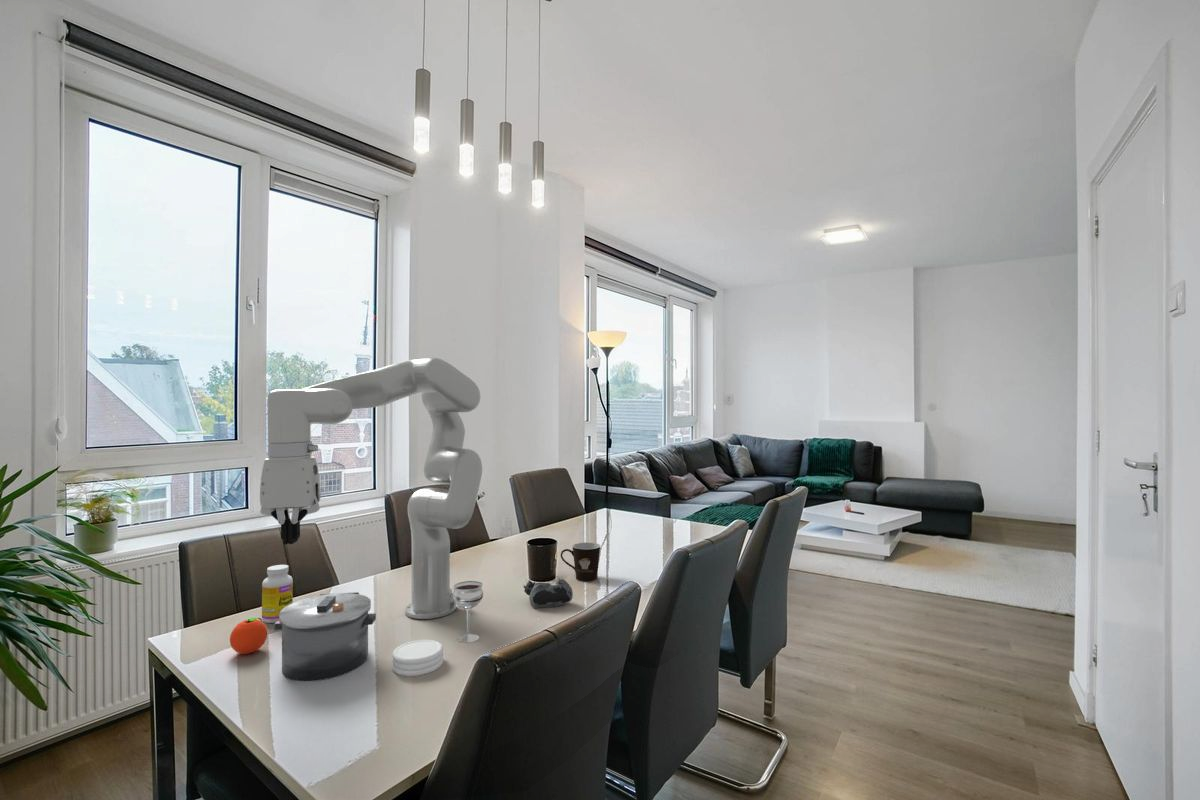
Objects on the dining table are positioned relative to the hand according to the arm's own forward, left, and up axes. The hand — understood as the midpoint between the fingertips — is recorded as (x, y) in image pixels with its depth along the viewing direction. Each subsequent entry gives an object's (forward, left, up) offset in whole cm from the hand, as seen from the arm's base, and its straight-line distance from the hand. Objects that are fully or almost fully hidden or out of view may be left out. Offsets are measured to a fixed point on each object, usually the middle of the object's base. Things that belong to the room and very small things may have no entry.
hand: (290, 542), depth 113 cm
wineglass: (-34, -11, -26) cm, 44 cm away
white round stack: (-25, +1, -26) cm, 36 cm away
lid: (-6, -3, -15) cm, 17 cm away
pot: (-6, -3, -26) cm, 27 cm away
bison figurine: (-53, -32, -26) cm, 67 cm away
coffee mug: (-65, -52, -26) cm, 87 cm away
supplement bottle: (+14, -30, -26) cm, 42 cm away
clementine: (+12, -11, -26) cm, 31 cm away
